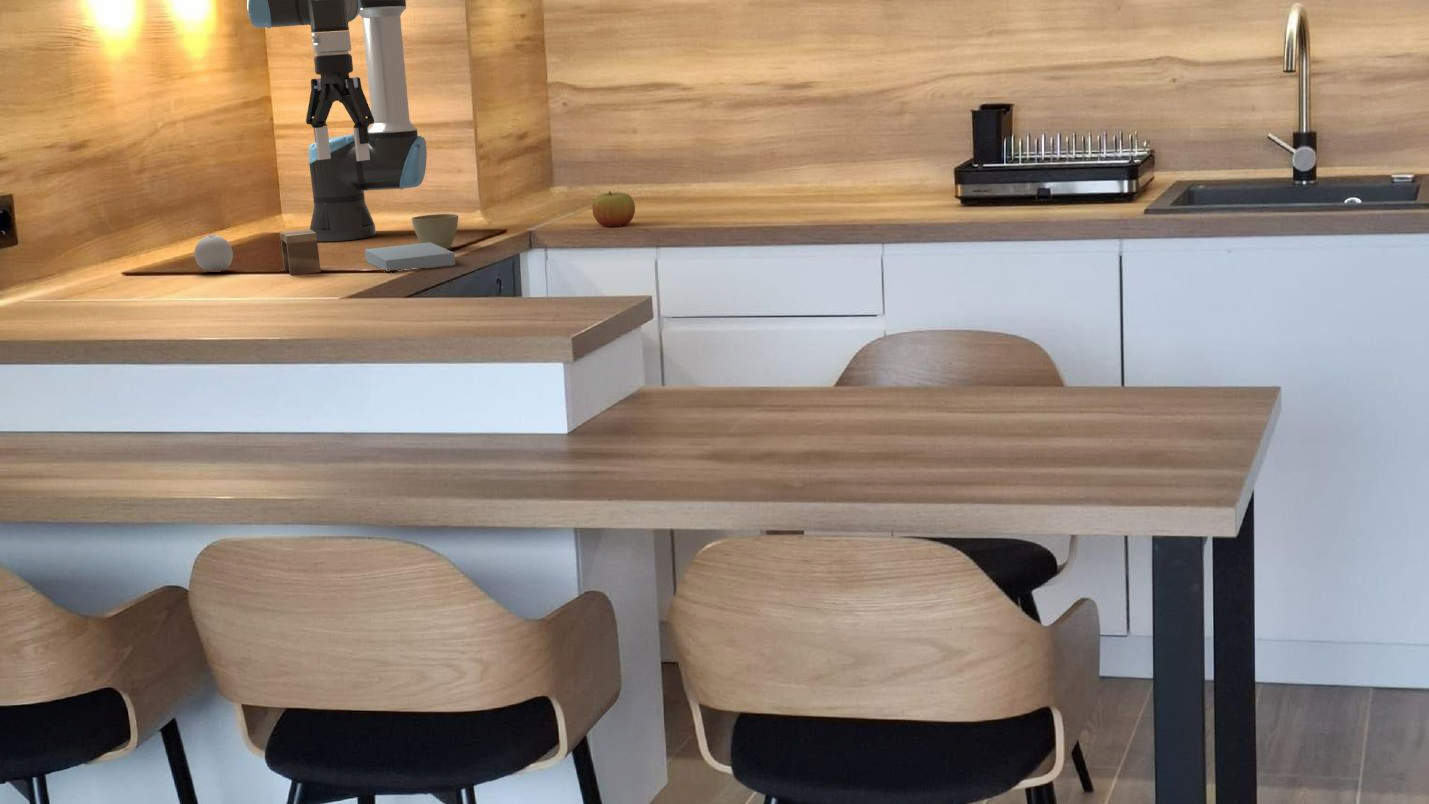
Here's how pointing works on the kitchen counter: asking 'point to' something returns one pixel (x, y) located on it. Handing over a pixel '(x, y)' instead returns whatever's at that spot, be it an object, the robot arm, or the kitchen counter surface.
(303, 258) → the stool
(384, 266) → the plinth
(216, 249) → the grey ball
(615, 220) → the apple
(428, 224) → the flower pot
